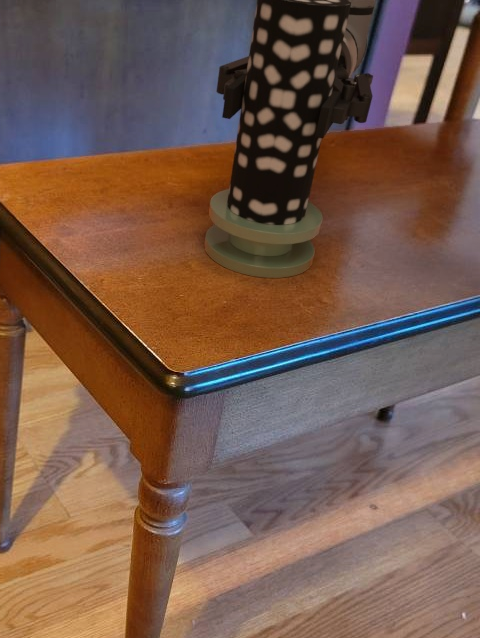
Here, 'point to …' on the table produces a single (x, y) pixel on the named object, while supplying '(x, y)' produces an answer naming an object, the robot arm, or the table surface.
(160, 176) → the table surface
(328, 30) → the spotted tube
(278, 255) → the stand
